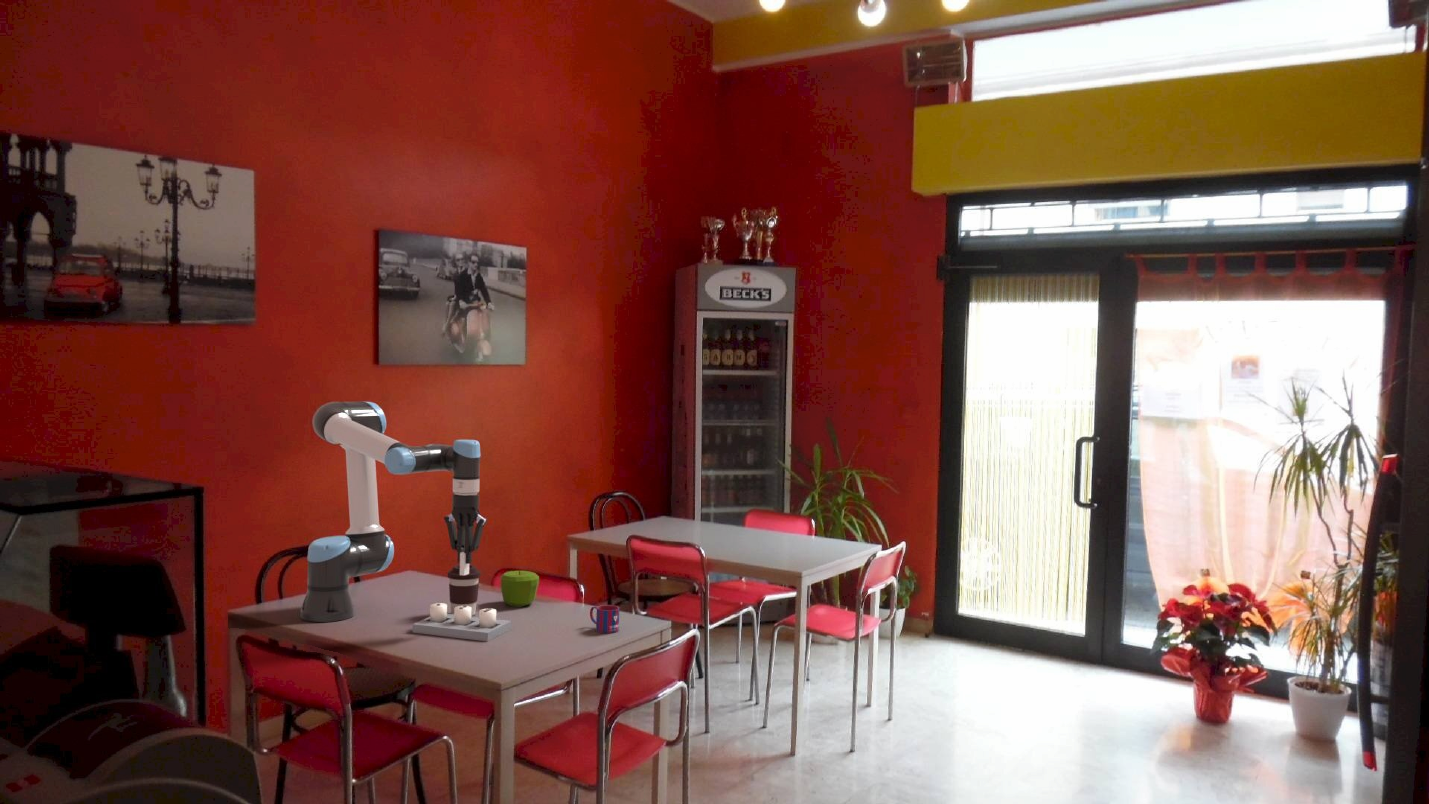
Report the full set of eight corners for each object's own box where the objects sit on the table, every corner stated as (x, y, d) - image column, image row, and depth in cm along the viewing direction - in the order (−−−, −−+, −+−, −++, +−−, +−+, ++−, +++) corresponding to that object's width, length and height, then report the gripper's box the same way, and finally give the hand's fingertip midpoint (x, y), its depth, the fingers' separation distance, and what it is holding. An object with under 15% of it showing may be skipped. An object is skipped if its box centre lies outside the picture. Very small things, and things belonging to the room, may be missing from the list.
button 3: (475, 626, 280) (476, 610, 280) (484, 622, 285) (484, 606, 284) (490, 628, 279) (491, 612, 278) (498, 624, 283) (499, 608, 283)
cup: (606, 634, 285) (607, 611, 285) (583, 628, 291) (584, 605, 291) (623, 630, 290) (624, 607, 290) (600, 624, 296) (601, 601, 296)
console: (412, 632, 280) (412, 624, 280) (438, 620, 294) (439, 612, 294) (487, 641, 274) (487, 632, 274) (511, 629, 287) (511, 620, 287)
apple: (544, 606, 315) (545, 571, 315) (508, 610, 308) (509, 575, 308) (528, 598, 326) (529, 564, 325) (493, 602, 319) (494, 567, 318)
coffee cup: (486, 614, 303) (487, 566, 303) (462, 620, 295) (463, 571, 294) (463, 609, 308) (465, 562, 308) (439, 615, 300) (440, 566, 300)
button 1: (426, 621, 284) (426, 605, 284) (435, 617, 289) (435, 601, 289) (441, 622, 283) (441, 606, 283) (449, 619, 288) (450, 603, 287)
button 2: (450, 624, 282) (451, 607, 282) (459, 620, 287) (460, 604, 287) (465, 625, 281) (466, 609, 281) (474, 621, 285) (474, 605, 285)
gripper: (438, 493, 281) (437, 575, 281) (479, 496, 277) (478, 578, 278) (452, 490, 288) (451, 570, 289) (492, 493, 284) (490, 573, 285)
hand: (464, 574), depth 283 cm, fingers closed
